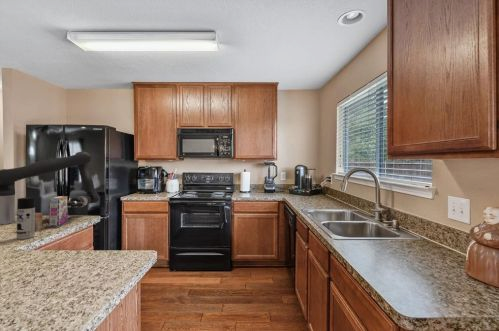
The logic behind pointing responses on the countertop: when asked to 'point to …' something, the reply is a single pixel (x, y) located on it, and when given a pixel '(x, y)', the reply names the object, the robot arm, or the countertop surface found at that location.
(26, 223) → the spray can
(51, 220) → the candy bar box
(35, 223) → the maple offcut
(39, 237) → the countertop surface
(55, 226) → the rubber mat
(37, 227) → the rack
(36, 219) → the cherry offcut
